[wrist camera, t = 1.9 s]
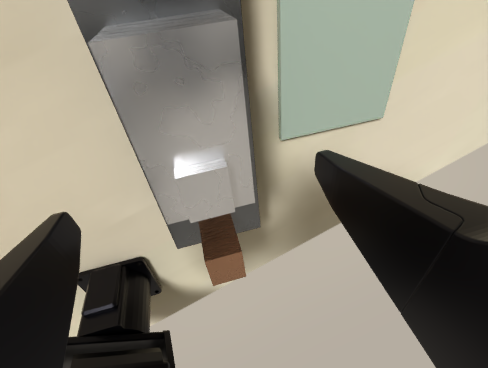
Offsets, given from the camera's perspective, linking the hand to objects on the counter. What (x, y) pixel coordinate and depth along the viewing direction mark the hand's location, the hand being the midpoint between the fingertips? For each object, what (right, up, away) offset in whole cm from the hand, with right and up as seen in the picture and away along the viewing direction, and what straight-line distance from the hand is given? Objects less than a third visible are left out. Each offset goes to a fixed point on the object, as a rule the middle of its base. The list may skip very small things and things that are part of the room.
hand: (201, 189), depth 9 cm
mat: (+8, +9, +9) cm, 15 cm away
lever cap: (-2, +4, +5) cm, 7 cm away
